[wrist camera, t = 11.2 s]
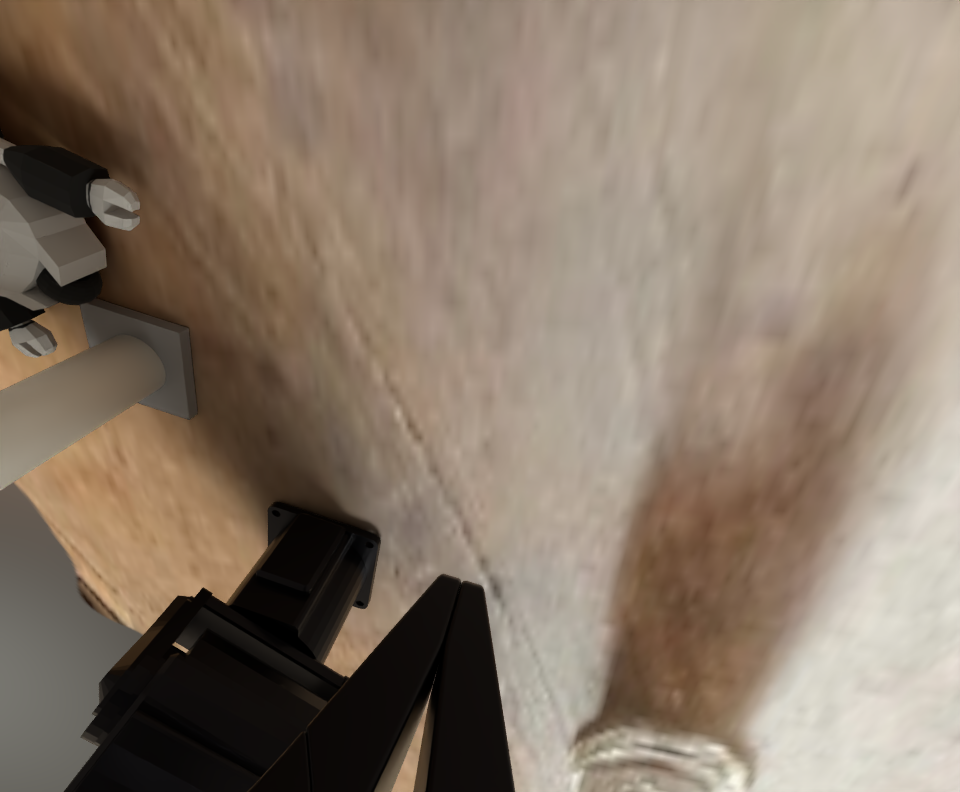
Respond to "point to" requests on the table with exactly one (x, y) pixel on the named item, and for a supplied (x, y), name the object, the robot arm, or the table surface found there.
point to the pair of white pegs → (96, 386)
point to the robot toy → (52, 235)
